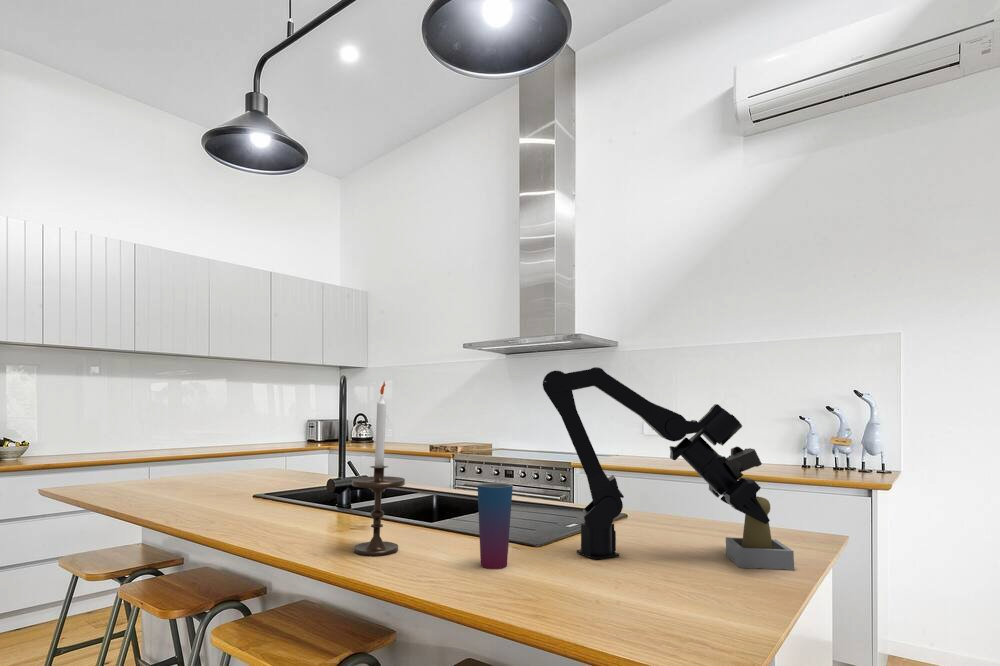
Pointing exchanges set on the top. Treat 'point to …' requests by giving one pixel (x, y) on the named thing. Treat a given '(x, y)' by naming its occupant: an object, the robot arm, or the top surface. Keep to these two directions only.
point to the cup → (494, 523)
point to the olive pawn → (757, 530)
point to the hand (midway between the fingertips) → (763, 519)
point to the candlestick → (378, 490)
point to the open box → (760, 555)
